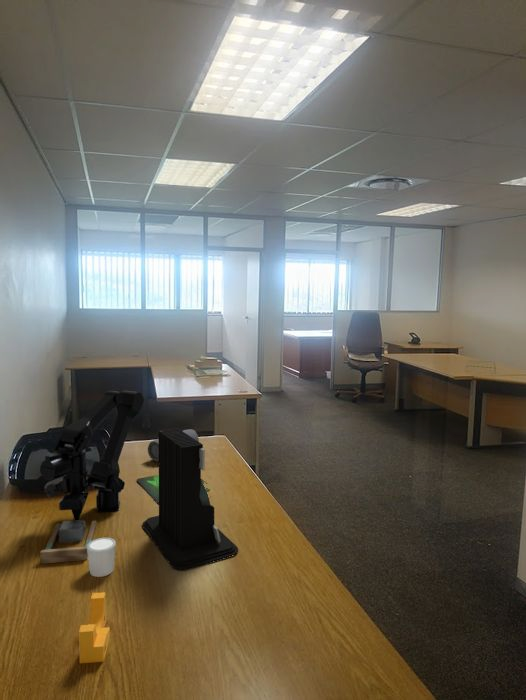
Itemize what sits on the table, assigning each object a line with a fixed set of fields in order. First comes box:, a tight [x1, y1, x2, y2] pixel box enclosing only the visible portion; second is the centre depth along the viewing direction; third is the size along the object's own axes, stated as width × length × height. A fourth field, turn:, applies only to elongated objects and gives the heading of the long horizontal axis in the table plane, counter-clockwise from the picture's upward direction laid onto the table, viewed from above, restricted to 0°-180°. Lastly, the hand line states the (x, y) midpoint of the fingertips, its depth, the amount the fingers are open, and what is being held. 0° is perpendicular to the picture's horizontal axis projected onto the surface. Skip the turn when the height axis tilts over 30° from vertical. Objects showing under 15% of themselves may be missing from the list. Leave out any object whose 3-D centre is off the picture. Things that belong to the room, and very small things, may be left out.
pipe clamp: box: [78, 591, 111, 664], centre depth 97 cm, size 12×4×6 cm, turn 7°
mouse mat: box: [136, 474, 210, 505], centre depth 175 cm, size 27×22×1 cm
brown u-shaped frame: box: [39, 520, 98, 565], centre depth 134 cm, size 11×20×3 cm, turn 12°
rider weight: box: [58, 519, 87, 544], centre depth 137 cm, size 6×5×4 cm
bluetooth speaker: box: [147, 428, 200, 462], centre depth 208 cm, size 23×9×10 cm, turn 147°
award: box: [141, 427, 239, 571], centre depth 137 cm, size 30×19×30 cm, turn 31°
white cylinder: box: [87, 537, 116, 578], centre depth 121 cm, size 7×7×7 cm
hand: (76, 519), depth 145 cm, fingers closed
